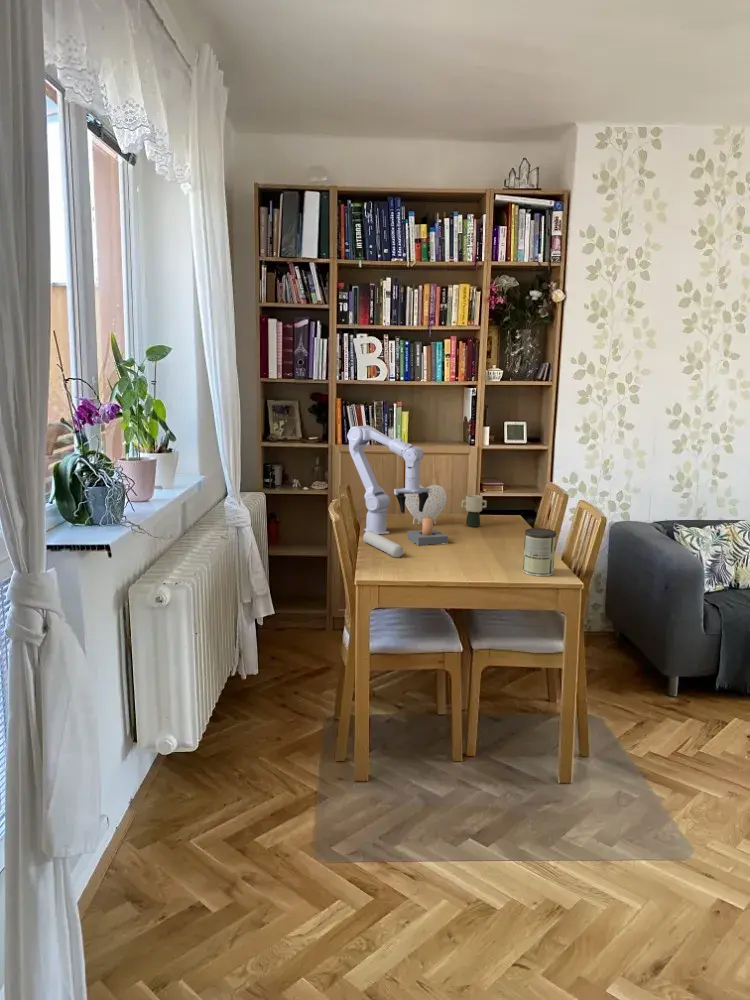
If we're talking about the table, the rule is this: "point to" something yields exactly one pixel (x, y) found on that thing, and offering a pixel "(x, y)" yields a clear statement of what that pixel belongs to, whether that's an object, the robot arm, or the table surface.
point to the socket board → (427, 537)
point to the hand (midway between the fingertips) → (411, 511)
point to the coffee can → (539, 552)
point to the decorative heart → (427, 504)
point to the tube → (383, 544)
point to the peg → (427, 526)
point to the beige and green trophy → (473, 509)
